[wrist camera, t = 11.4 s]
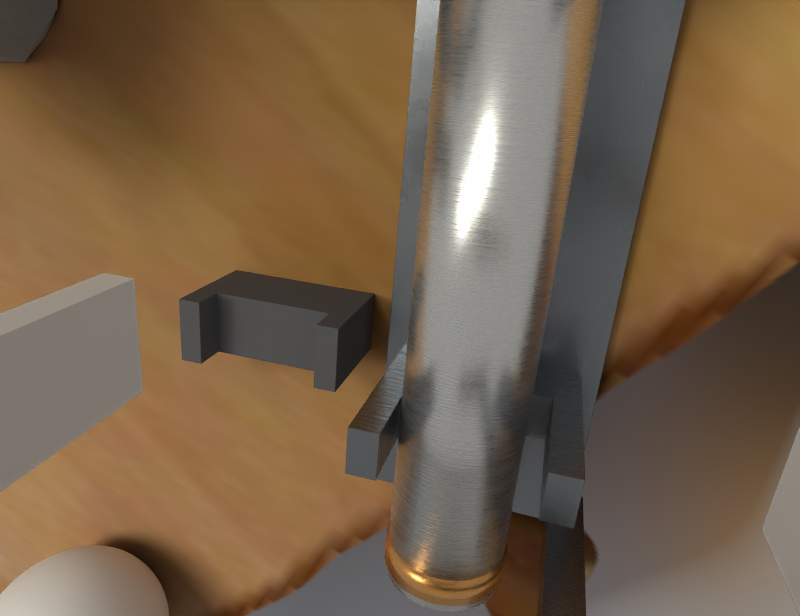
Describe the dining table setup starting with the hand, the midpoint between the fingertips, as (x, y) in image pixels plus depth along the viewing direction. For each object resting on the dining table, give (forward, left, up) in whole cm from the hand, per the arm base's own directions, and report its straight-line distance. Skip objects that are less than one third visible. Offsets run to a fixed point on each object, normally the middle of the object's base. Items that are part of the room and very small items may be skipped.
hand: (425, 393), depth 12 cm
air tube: (0, 0, -13) cm, 13 cm away
